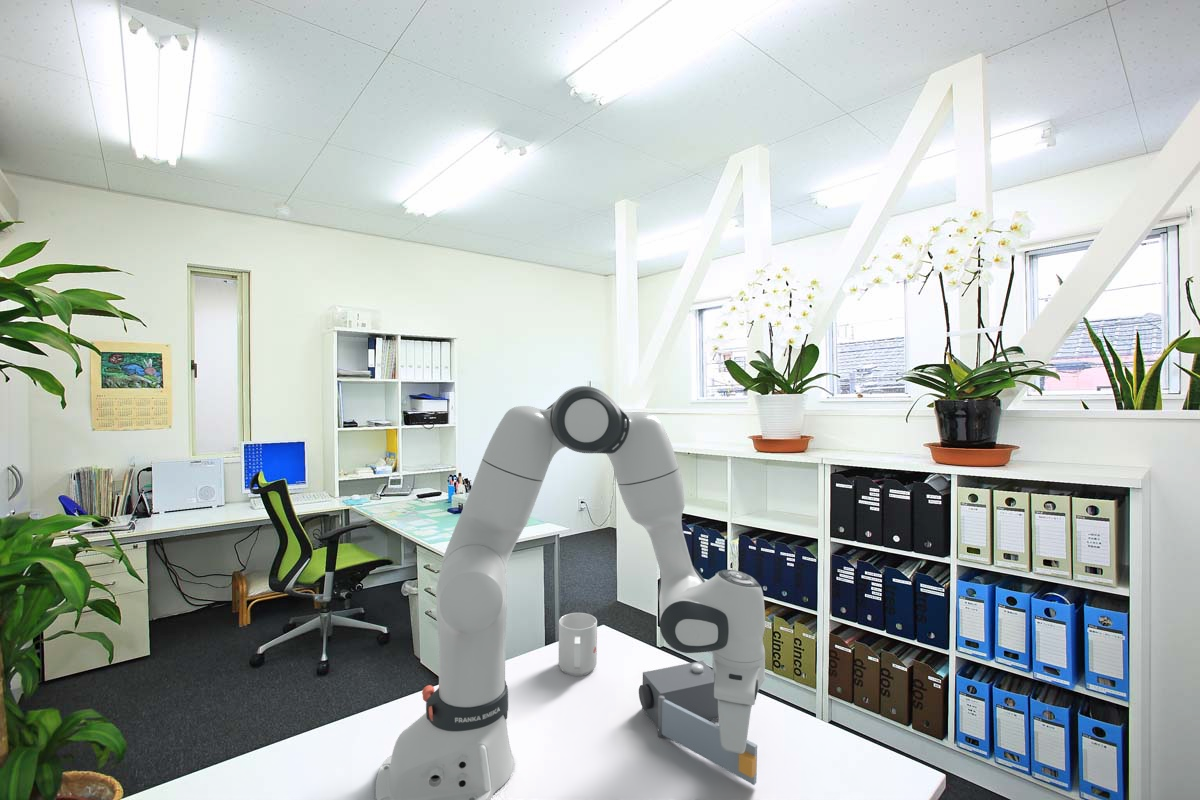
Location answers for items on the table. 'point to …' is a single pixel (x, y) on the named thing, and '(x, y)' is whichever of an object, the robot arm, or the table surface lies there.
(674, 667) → the camera case
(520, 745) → the table surface
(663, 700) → the side door
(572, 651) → the mug
